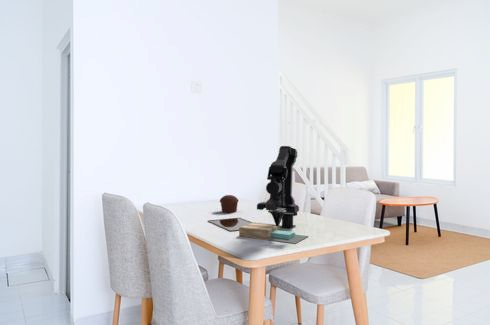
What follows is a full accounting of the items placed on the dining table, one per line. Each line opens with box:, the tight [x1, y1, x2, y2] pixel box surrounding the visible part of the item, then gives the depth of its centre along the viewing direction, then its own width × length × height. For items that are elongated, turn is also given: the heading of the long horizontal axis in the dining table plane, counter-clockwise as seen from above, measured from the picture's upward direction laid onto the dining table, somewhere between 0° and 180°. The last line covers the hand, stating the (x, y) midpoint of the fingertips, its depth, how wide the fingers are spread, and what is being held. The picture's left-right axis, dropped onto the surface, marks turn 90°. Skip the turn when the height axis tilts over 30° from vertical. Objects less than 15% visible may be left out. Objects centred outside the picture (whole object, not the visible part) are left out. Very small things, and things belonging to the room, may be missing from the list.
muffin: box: [219, 194, 239, 214], centre depth 258 cm, size 12×11×10 cm
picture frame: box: [207, 217, 253, 233], centre depth 220 cm, size 19×1×28 cm
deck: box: [238, 221, 281, 241], centre depth 196 cm, size 14×14×4 cm
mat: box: [266, 234, 309, 245], centre depth 189 cm, size 15×13×1 cm
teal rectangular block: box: [271, 229, 296, 239], centre depth 191 cm, size 6×9×2 cm, turn 60°
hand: (277, 226), depth 191 cm, fingers closed
